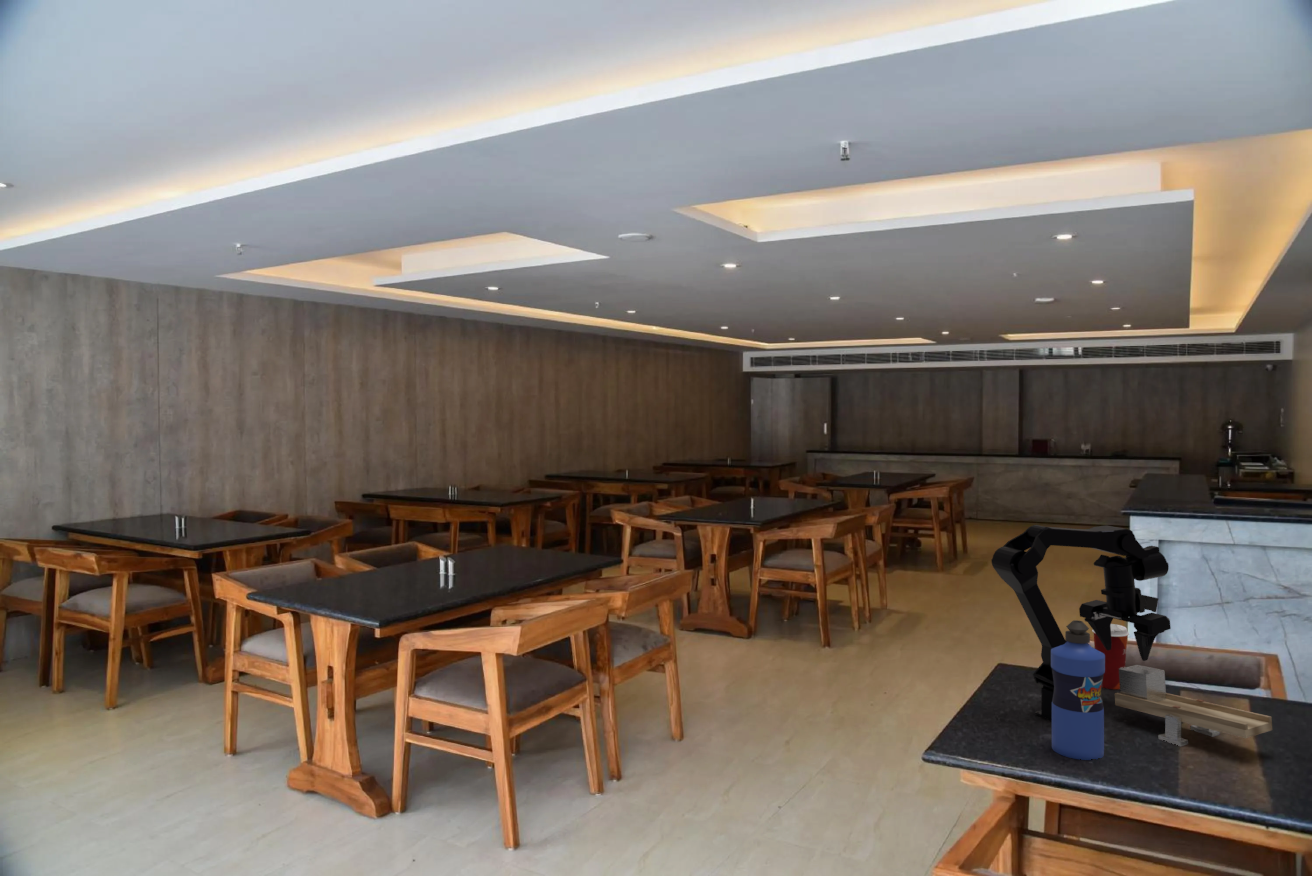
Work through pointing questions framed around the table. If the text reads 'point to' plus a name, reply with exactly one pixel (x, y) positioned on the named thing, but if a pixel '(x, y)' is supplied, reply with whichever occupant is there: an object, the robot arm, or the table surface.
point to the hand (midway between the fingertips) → (1126, 655)
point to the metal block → (1143, 682)
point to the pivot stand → (1174, 731)
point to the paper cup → (1113, 655)
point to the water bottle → (1077, 696)
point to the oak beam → (1201, 714)
